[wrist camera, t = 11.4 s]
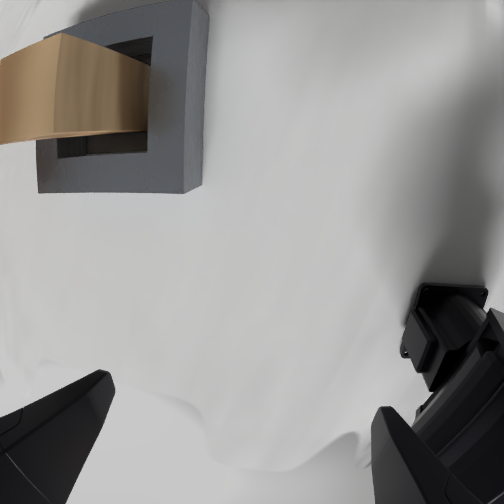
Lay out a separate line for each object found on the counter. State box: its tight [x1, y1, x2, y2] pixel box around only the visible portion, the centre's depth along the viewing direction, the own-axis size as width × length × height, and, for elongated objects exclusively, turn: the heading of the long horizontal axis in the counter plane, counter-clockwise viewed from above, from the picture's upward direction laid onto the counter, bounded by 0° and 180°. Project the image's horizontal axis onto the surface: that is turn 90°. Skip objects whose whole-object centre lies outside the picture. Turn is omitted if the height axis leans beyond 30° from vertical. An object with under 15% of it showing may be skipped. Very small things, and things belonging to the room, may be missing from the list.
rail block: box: [36, 0, 209, 194], centre depth 17 cm, size 11×12×4 cm
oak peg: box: [0, 33, 151, 145], centre depth 14 cm, size 4×4×10 cm
